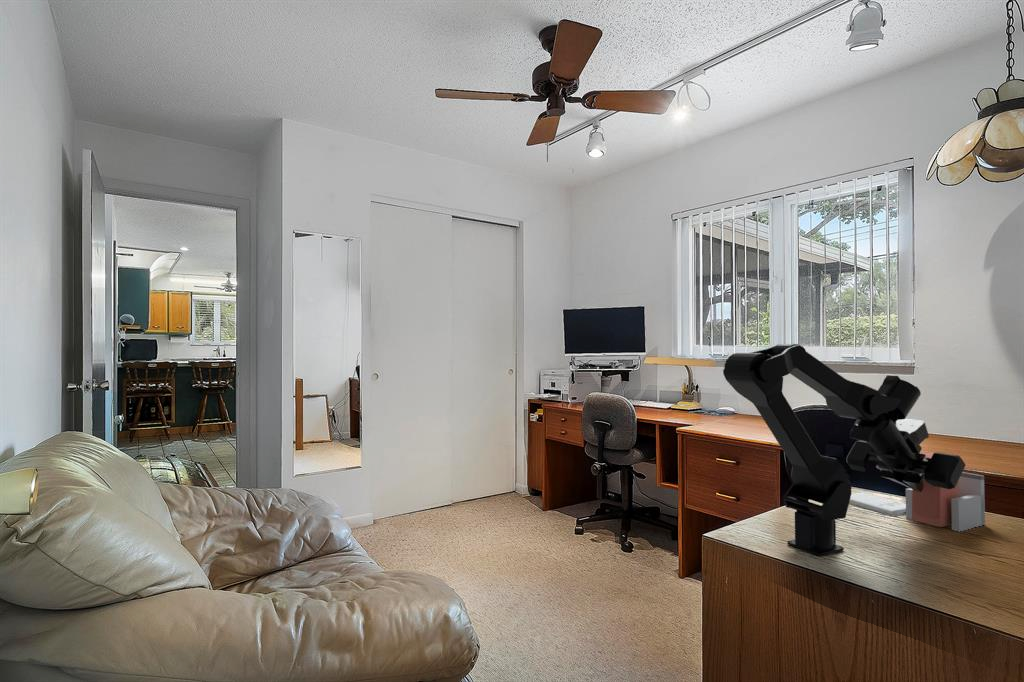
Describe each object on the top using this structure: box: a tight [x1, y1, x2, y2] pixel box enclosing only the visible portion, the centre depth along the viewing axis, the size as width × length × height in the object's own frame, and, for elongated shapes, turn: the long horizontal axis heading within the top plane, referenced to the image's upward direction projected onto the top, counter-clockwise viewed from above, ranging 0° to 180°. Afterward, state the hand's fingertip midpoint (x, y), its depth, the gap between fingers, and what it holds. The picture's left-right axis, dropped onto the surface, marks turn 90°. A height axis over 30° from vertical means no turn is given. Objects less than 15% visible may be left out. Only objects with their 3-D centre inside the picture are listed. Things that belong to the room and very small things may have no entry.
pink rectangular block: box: [912, 452, 958, 528], centre depth 108 cm, size 7×5×13 cm
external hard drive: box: [849, 491, 906, 517], centre depth 120 cm, size 2×8×12 cm
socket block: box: [905, 471, 986, 533], centre depth 109 cm, size 9×9×10 cm
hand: (920, 489), depth 106 cm, fingers closed
